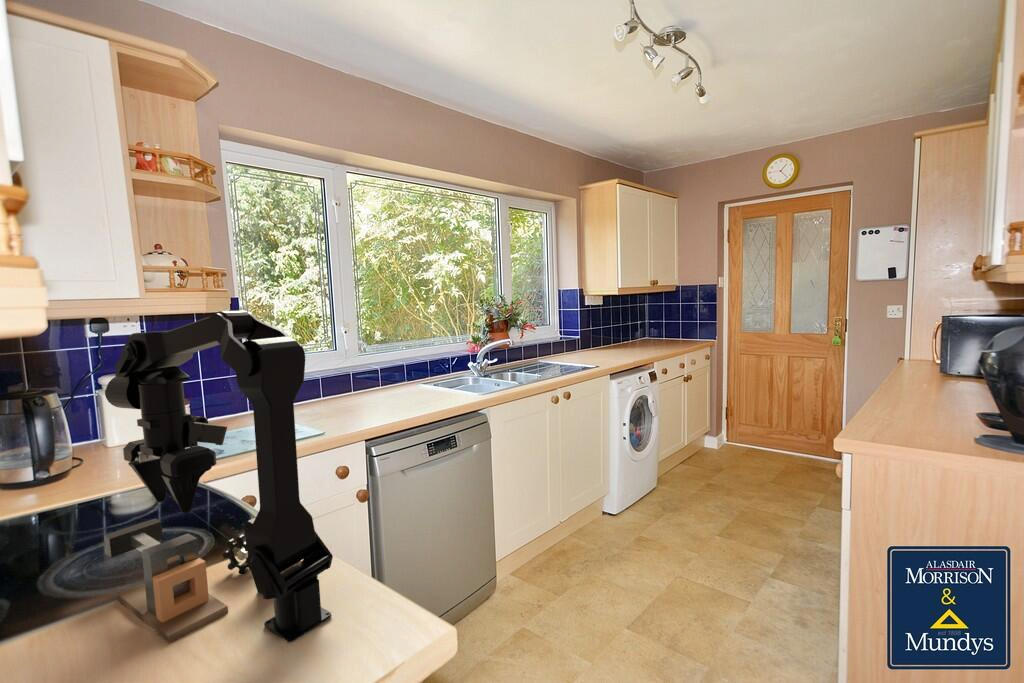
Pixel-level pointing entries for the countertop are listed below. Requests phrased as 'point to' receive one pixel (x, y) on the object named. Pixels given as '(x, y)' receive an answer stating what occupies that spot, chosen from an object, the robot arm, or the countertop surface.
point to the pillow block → (157, 564)
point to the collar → (196, 596)
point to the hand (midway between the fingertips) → (173, 506)
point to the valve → (240, 554)
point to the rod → (137, 540)
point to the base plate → (177, 624)
